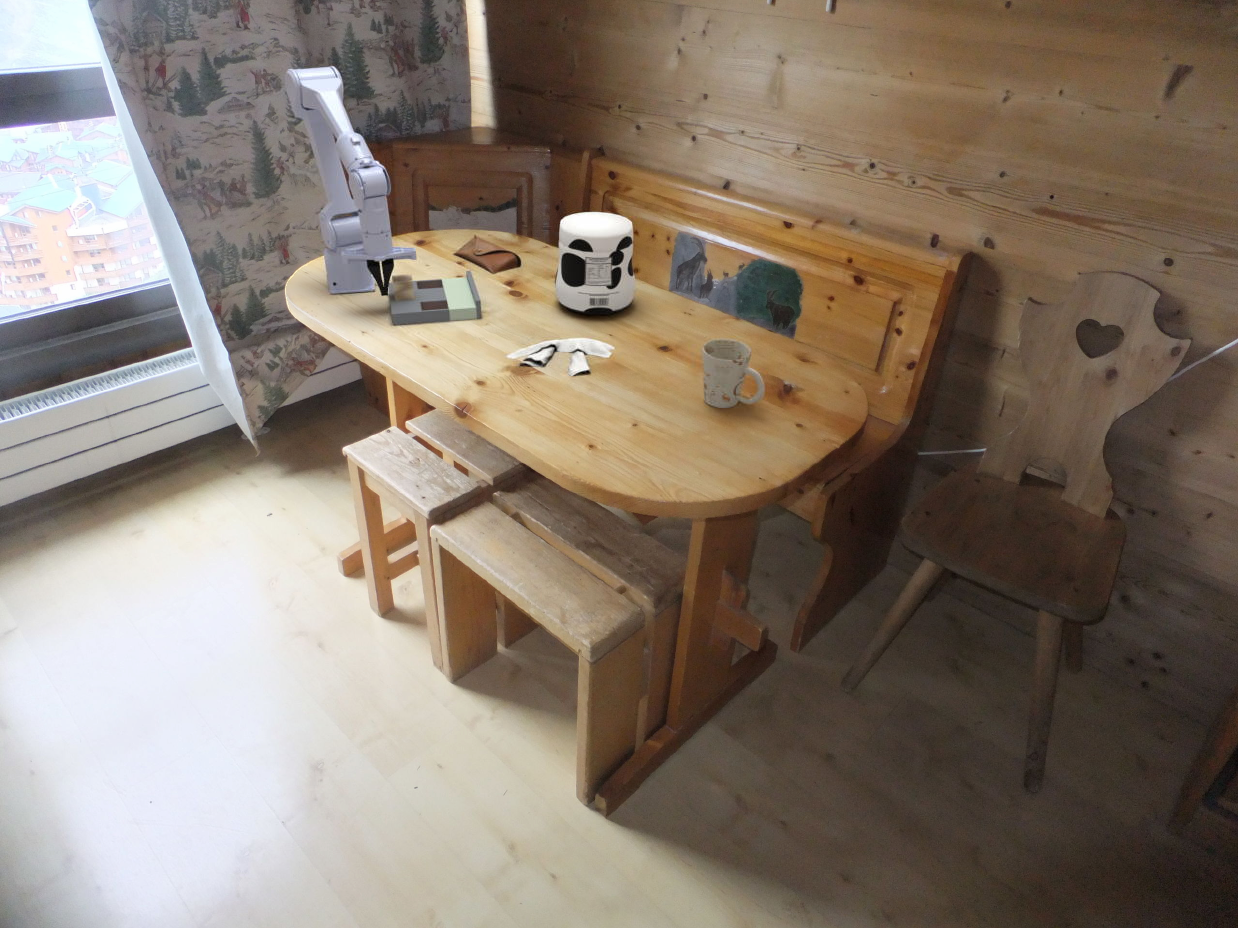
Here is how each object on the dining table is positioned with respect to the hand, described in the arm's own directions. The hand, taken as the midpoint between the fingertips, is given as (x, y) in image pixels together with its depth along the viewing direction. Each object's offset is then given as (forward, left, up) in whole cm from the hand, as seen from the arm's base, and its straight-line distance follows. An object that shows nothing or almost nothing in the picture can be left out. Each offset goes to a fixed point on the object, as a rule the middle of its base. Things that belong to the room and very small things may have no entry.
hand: (384, 294), depth 169 cm
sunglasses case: (+24, +25, -4) cm, 35 cm away
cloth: (+31, -30, -4) cm, 43 cm away
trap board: (+9, 0, -3) cm, 10 cm away
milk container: (+44, -6, -4) cm, 44 cm away
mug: (+57, -53, -4) cm, 78 cm away
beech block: (+4, 0, -1) cm, 4 cm away
